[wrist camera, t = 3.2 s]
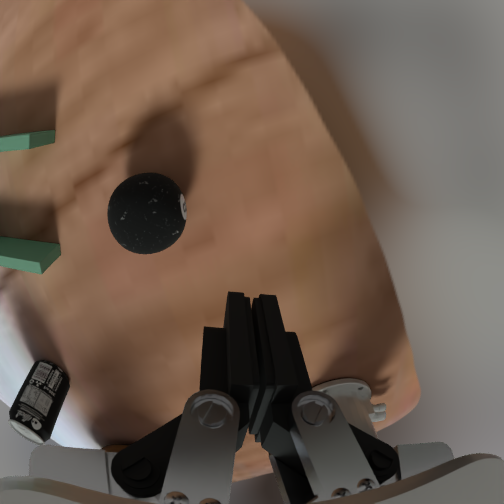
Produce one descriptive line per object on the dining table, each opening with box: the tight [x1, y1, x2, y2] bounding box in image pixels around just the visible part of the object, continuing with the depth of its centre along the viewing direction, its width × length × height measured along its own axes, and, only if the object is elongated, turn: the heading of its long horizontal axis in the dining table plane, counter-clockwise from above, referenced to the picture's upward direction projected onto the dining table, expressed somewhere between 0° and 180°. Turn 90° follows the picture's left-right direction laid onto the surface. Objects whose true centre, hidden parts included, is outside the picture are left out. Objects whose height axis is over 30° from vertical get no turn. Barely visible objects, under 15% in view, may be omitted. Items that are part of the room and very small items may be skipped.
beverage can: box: [8, 360, 70, 445], centre depth 27 cm, size 7×7×12 cm
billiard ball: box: [108, 173, 187, 254], centre depth 20 cm, size 6×6×6 cm
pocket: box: [0, 130, 61, 274], centre depth 19 cm, size 12×12×4 cm
